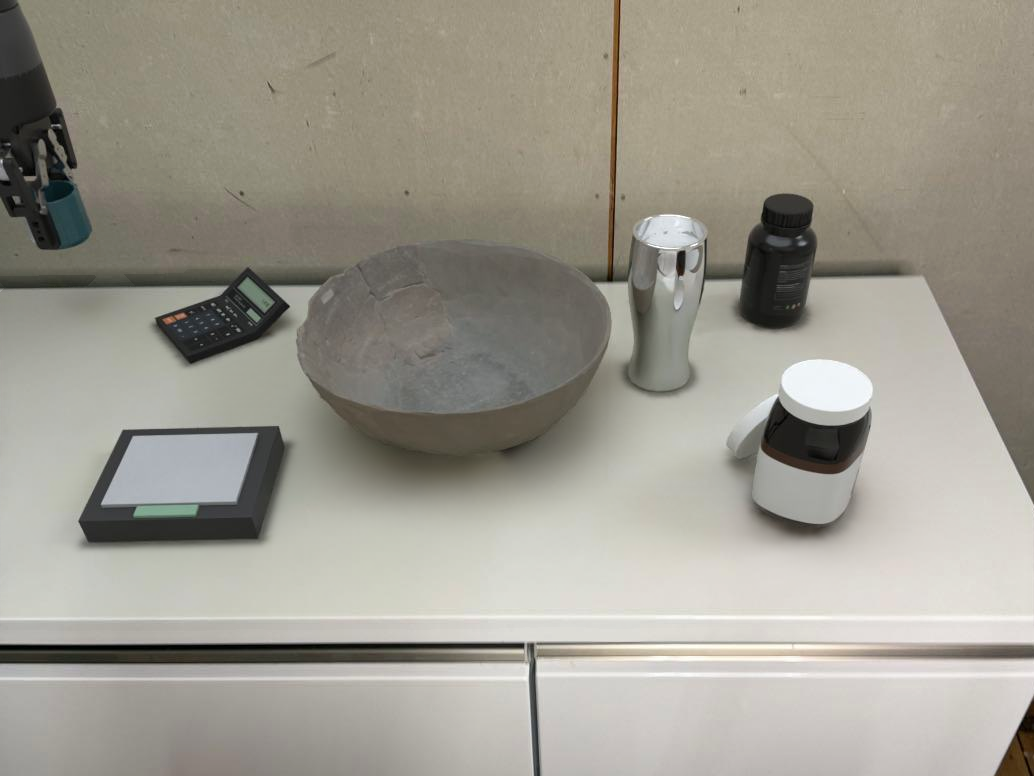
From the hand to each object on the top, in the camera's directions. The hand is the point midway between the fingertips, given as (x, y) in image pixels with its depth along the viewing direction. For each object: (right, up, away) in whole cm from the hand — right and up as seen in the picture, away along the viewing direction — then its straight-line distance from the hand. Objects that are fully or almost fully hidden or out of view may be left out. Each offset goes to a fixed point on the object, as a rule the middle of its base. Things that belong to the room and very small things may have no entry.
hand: (61, 232), depth 100 cm
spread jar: (+71, -28, -18) cm, 78 cm away
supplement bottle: (+74, -8, +2) cm, 75 cm away
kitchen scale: (+20, -28, -17) cm, 38 cm away
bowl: (+43, -19, -9) cm, 48 cm away
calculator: (+16, -9, +2) cm, 19 cm away
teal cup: (0, 0, +1) cm, 1 cm away
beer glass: (+62, -16, -6) cm, 64 cm away
